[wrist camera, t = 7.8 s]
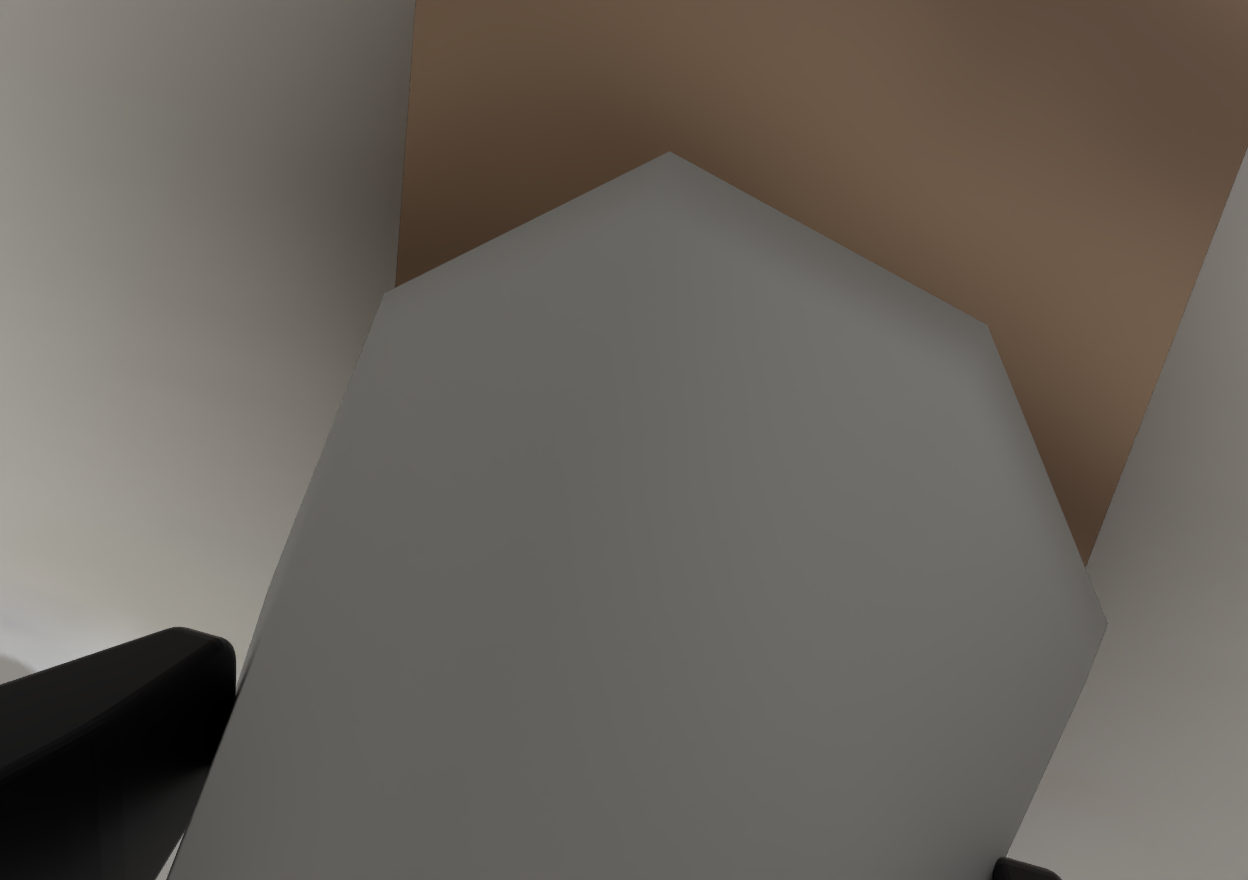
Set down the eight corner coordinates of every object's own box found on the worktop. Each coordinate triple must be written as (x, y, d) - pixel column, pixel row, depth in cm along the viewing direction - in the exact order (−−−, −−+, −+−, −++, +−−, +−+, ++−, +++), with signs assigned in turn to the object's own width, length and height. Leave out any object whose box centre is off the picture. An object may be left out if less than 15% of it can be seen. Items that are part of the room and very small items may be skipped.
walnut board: (951, 859, 21) (954, 905, 20) (387, 701, 23) (363, 735, 22) (1334, -164, 14) (1373, -179, 13) (468, -287, 16) (437, -308, 15)
